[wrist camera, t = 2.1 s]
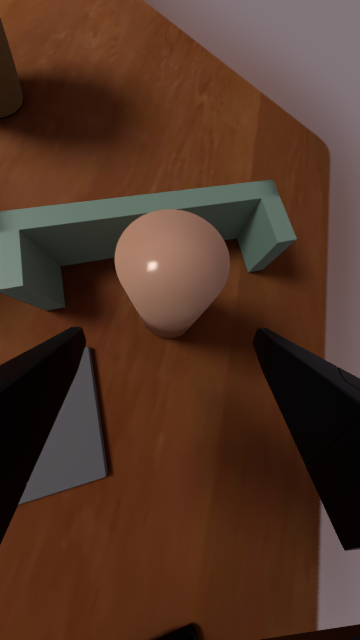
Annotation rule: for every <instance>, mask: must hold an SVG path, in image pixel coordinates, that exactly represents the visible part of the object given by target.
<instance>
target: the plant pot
mask: <svg viewBox="0 0 360 640" xmlns="http://www.w3.org/2000/svg"><path fill="white" fill-rule="evenodd" d="M22 103H23V94H22V90H21V86H20V83H19V79H18V75H17V72H16V68H15V64H14V61H13V57H12V54H11V51H10V47H9V44H8V41H7V38H6V34H5V31H4V28H3V25H2V22H1V19H0V118H3V117H6V116H9V115H11V114H13V113H15V112H16V111H17V110H18V109H19V108H20V107H21V105H22Z"/></svg>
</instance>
